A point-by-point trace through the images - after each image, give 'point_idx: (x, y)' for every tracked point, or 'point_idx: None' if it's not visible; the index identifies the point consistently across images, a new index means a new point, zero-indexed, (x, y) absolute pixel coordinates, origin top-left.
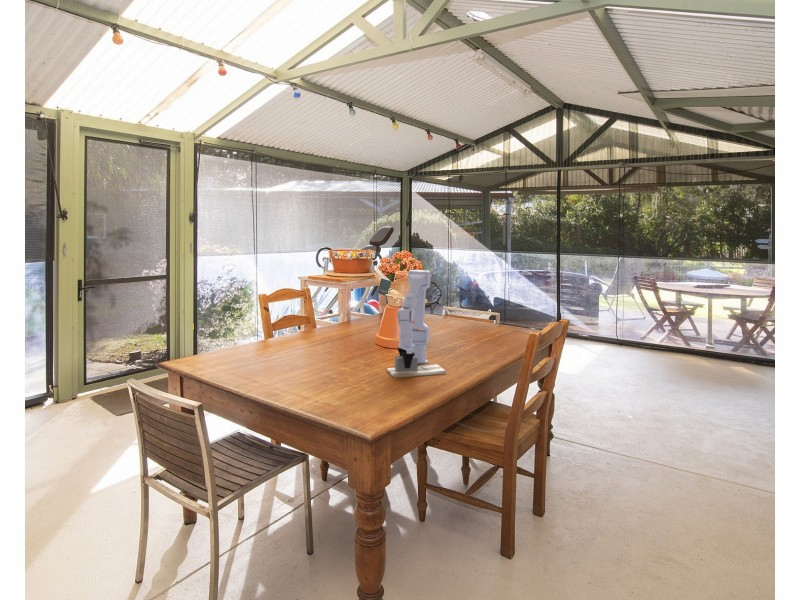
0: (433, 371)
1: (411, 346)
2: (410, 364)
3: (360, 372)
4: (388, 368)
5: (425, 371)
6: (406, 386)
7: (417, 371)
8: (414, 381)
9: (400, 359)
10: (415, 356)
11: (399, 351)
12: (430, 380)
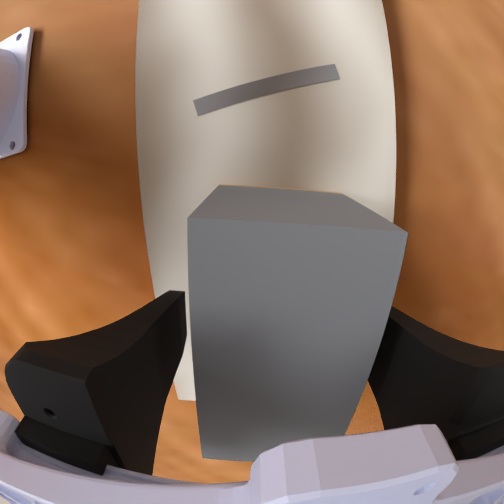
0: (381, 47)
1: (470, 500)
2: (402, 317)
3: (191, 470)
4: (187, 394)
5: (364, 116)
6: (496, 329)
7: (344, 194)
8: (465, 268)
9: (339, 434)
10: (302, 237)
11: (150, 459)
12: (484, 153)
